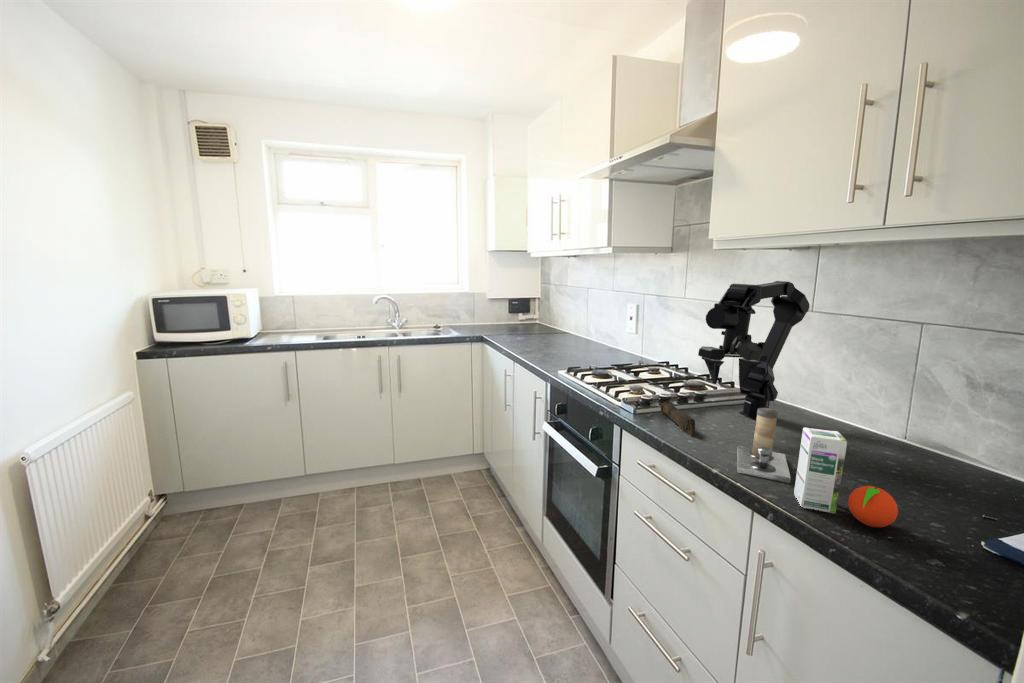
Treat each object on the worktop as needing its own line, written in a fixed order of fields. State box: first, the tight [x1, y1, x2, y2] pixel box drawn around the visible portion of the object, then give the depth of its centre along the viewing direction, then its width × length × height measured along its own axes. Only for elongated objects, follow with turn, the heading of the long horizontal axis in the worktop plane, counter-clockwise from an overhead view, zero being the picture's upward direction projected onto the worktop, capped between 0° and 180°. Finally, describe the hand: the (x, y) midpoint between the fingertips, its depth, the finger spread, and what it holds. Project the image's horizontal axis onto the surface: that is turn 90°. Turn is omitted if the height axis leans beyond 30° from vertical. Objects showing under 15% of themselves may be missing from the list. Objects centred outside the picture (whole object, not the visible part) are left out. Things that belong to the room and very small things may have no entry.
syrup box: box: [793, 427, 848, 515], centre depth 85 cm, size 6×6×14 cm
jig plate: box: [736, 445, 791, 484], centre depth 101 cm, size 14×10×5 cm
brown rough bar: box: [660, 401, 696, 437], centre depth 127 cm, size 19×4×5 cm, turn 179°
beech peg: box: [752, 408, 779, 459], centre depth 103 cm, size 4×4×11 cm
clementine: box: [847, 485, 899, 528], centre depth 79 cm, size 8×7×7 cm
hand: (728, 383), depth 126 cm, fingers open, 9 cm apart
